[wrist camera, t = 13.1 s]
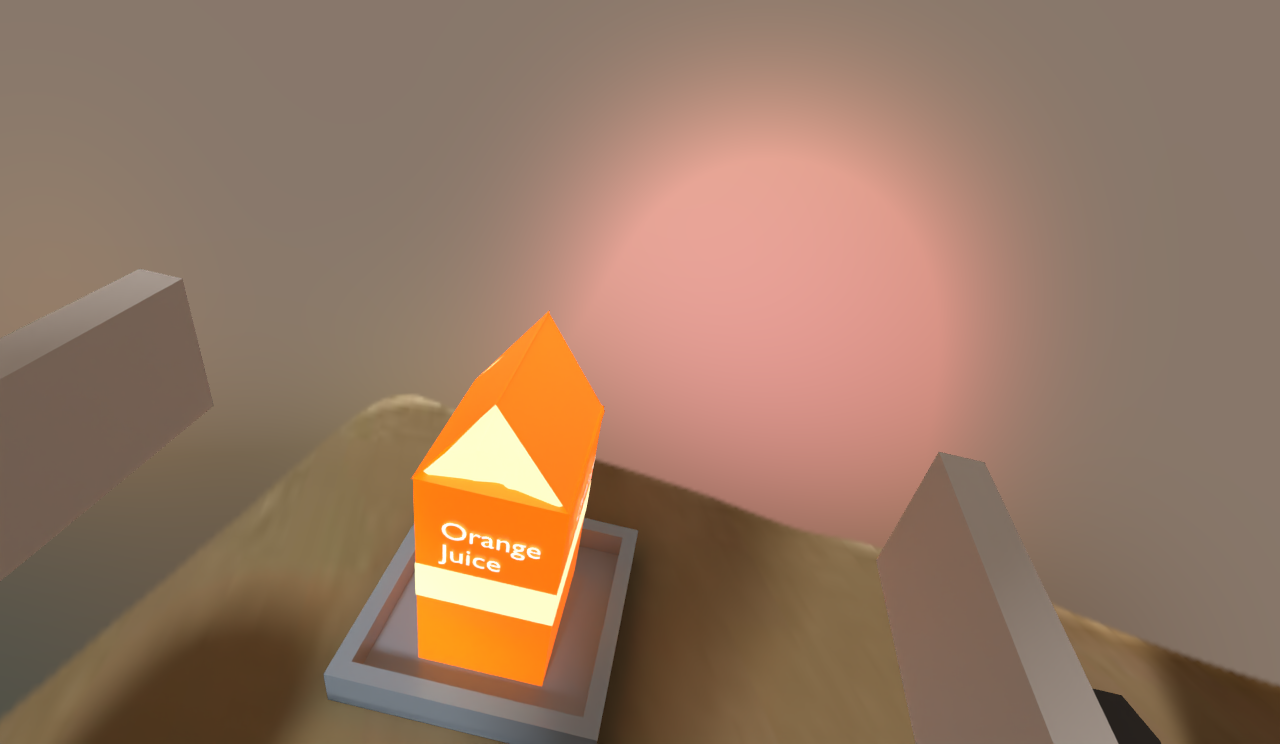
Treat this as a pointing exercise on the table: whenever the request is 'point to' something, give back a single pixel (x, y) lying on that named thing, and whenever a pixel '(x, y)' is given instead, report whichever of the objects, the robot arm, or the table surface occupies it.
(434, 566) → the orange juice
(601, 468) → the table surface
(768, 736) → the table surface
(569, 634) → the dish
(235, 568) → the table surface
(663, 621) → the table surface
